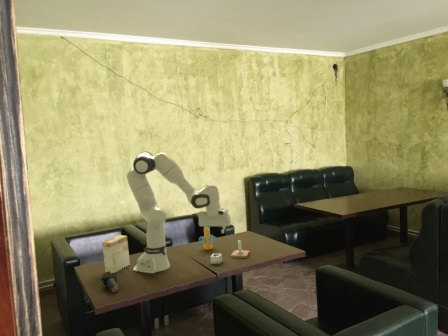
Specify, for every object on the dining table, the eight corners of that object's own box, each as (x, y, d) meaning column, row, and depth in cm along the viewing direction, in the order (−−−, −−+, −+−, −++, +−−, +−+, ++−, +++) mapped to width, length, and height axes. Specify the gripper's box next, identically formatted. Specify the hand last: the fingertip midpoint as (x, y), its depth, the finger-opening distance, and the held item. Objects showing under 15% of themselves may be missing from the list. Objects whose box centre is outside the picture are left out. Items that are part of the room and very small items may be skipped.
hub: (211, 263, 228) (210, 256, 227) (213, 260, 233) (213, 253, 233) (219, 264, 226) (219, 256, 226) (222, 260, 232) (221, 253, 231)
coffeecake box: (122, 264, 239) (119, 234, 237) (130, 265, 236) (127, 235, 234) (104, 272, 226) (101, 241, 224) (113, 274, 223) (110, 242, 221)
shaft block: (231, 257, 236) (230, 243, 235) (234, 252, 246) (233, 238, 245) (246, 258, 234) (245, 243, 233) (249, 252, 243) (248, 238, 242)
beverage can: (103, 289, 205) (110, 297, 195) (100, 277, 203) (106, 284, 193) (119, 281, 209) (126, 289, 199) (115, 269, 207) (122, 277, 197)
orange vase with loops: (217, 245, 263) (216, 225, 261) (216, 250, 253) (214, 229, 251) (200, 246, 264) (199, 226, 263) (198, 251, 254) (196, 230, 252)
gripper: (195, 212, 227) (198, 234, 229) (227, 212, 221) (229, 234, 222) (199, 210, 233) (201, 231, 235) (230, 209, 227) (232, 231, 228)
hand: (215, 232), depth 228 cm, fingers open, 8 cm apart
